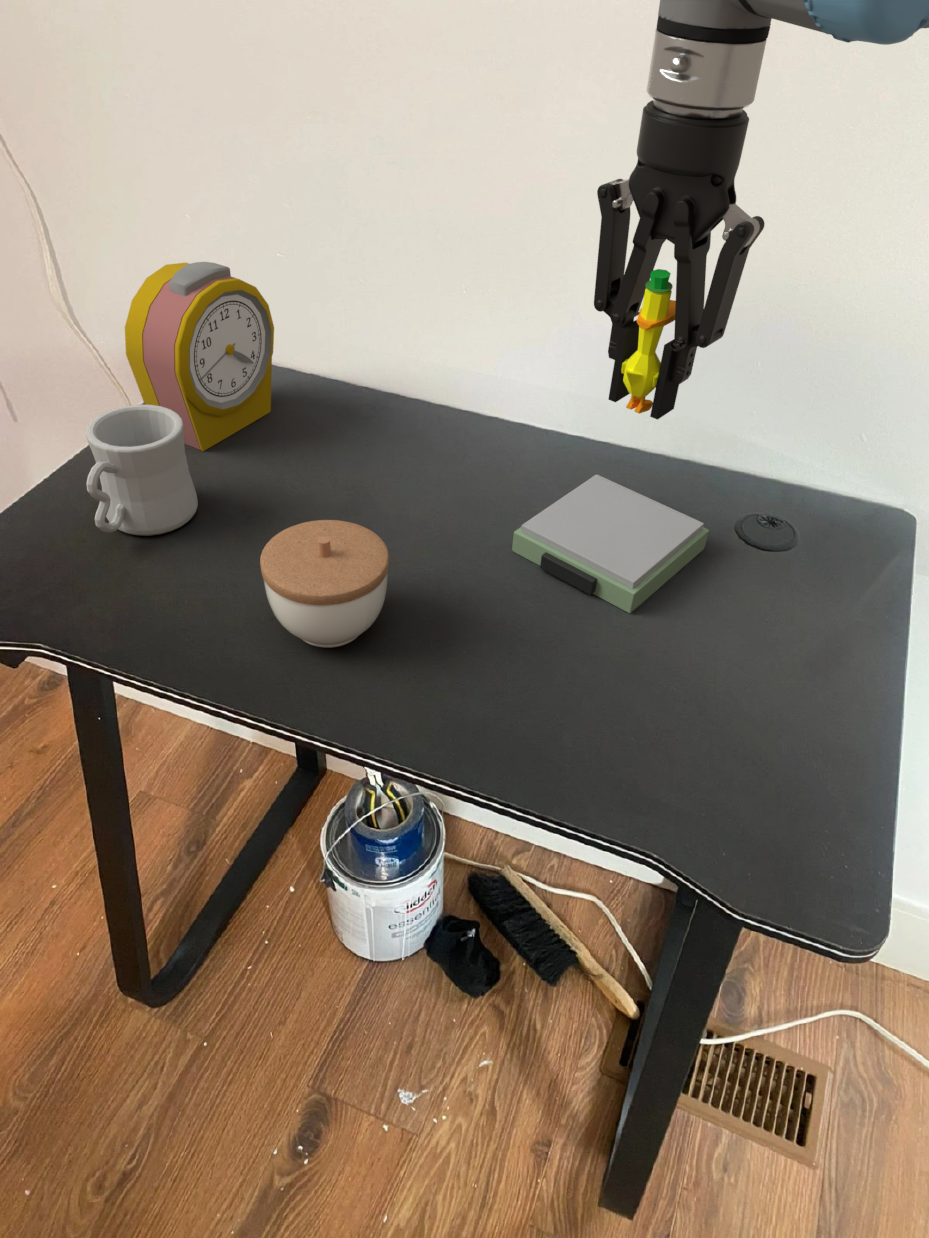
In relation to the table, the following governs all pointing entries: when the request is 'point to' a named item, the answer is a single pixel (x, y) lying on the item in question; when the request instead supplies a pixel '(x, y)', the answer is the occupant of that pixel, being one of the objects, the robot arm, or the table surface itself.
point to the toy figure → (649, 340)
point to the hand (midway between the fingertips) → (640, 403)
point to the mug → (140, 470)
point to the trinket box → (325, 580)
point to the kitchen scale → (611, 542)
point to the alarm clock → (202, 349)
